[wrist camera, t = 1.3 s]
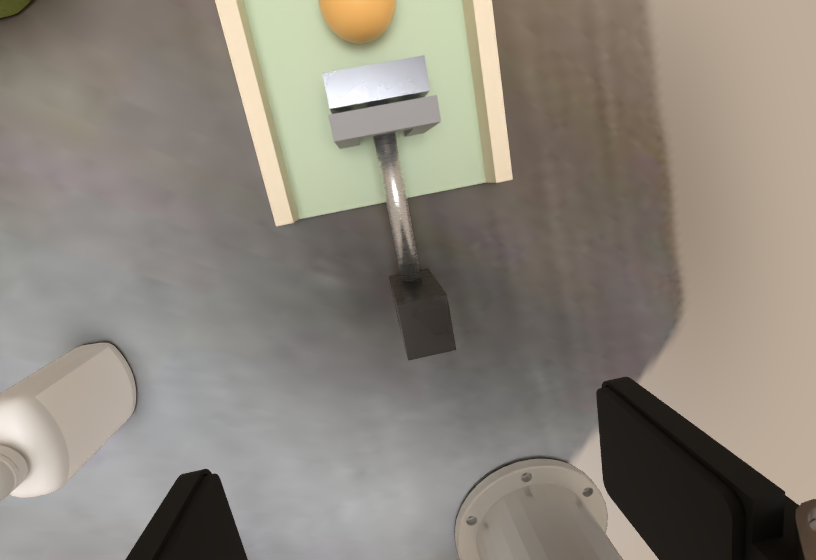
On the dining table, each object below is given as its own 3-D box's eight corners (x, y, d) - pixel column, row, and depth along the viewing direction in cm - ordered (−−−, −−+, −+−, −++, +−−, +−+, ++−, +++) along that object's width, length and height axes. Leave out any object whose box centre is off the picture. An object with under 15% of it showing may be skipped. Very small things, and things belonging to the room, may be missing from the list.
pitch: (496, 179, 27) (548, 180, 20) (285, 220, 26) (255, 238, 19) (448, -199, 22) (493, -392, 15) (184, -162, 21) (88, -346, 14)
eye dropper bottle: (153, 352, 28) (3, 479, 16) (132, 424, 29) (-23, 591, 17) (83, 332, 27) (-128, 450, 15) (64, 405, 28) (-147, 568, 16)
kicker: (452, 306, 28) (479, 344, 21) (378, 322, 27) (384, 365, 21) (414, 74, 24) (433, 38, 18) (328, 90, 24) (316, 58, 17)
